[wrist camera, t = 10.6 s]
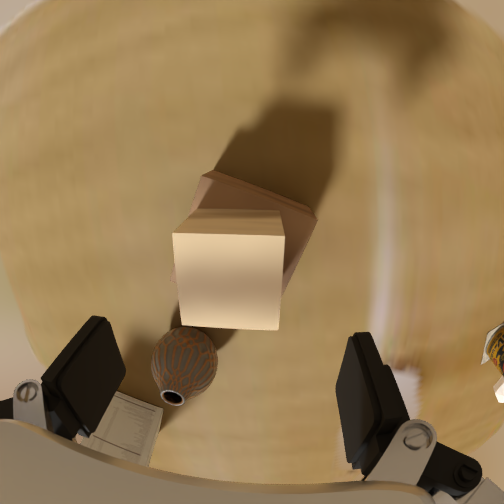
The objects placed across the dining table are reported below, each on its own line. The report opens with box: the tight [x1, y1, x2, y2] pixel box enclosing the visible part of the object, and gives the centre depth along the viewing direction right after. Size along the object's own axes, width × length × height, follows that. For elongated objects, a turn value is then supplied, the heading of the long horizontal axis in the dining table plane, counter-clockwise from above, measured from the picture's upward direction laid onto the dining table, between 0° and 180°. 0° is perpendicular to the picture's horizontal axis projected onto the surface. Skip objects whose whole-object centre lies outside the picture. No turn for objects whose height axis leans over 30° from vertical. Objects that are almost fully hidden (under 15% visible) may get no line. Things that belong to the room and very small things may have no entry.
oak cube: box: [172, 209, 285, 330], centre depth 19 cm, size 6×6×6 cm
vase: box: [151, 327, 218, 406], centre depth 27 cm, size 7×7×9 cm
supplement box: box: [80, 391, 163, 467], centre depth 30 cm, size 10×9×17 cm
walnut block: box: [170, 170, 318, 297], centre depth 24 cm, size 9×9×5 cm
